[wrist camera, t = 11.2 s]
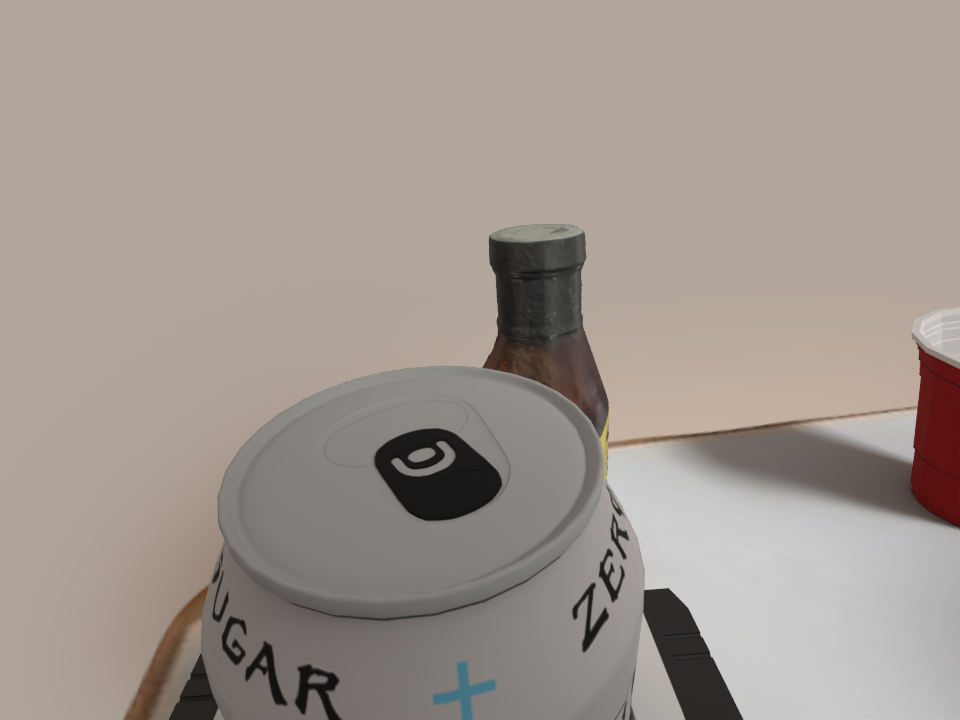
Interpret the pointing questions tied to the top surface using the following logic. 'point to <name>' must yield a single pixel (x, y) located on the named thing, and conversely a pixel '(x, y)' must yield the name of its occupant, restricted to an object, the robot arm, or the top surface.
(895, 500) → the top surface
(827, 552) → the top surface
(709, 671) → the robot arm
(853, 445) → the top surface
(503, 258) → the sauce bottle
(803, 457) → the top surface
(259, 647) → the energy drink can
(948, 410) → the plastic cup
